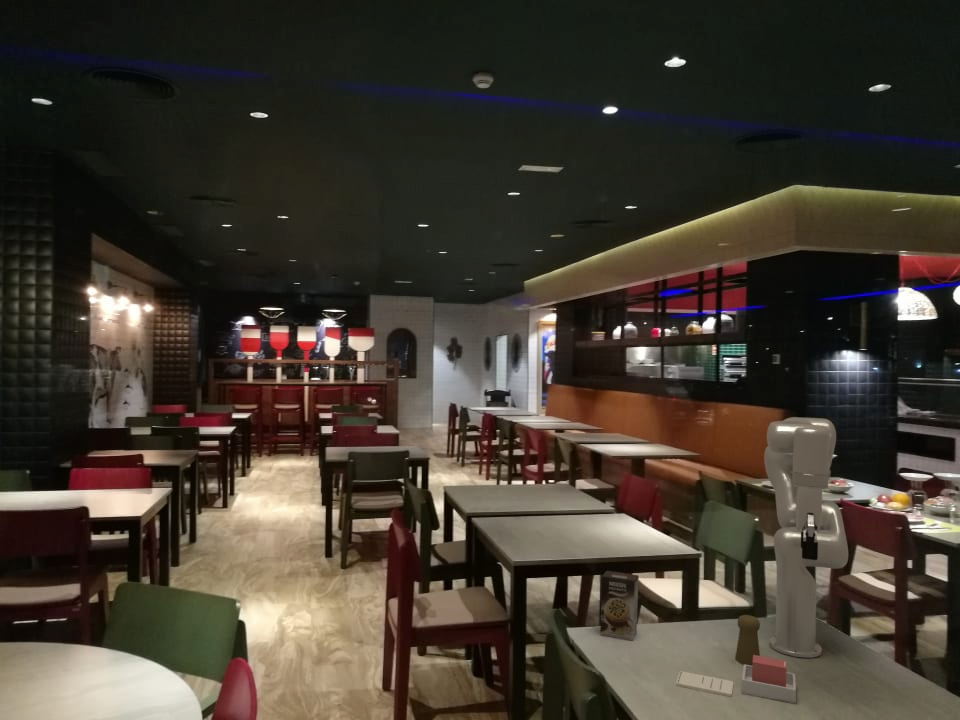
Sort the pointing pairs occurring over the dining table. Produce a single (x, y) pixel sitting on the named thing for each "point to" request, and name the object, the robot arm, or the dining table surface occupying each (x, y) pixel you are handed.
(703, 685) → the ticket
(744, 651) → the cork
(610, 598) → the coffee box
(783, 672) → the red block with stripe
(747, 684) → the tray
